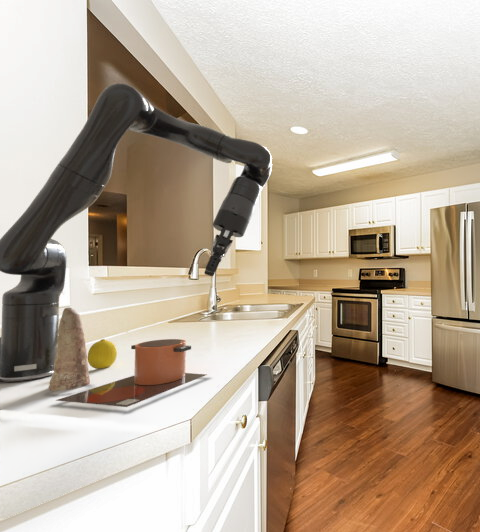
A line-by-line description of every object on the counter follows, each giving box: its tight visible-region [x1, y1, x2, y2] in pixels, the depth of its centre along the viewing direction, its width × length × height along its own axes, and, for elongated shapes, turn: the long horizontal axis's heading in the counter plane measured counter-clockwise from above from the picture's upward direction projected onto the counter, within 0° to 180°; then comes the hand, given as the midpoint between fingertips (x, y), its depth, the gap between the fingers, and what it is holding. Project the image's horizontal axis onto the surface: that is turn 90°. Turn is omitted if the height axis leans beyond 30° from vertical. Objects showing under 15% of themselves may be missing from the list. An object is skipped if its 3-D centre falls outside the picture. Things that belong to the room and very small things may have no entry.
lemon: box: [87, 338, 118, 370], centre depth 86 cm, size 6×6×8 cm
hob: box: [55, 372, 208, 408], centre depth 72 cm, size 16×20×1 cm
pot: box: [130, 338, 192, 385], centre depth 77 cm, size 13×9×8 cm
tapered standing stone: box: [48, 307, 91, 392], centre depth 71 cm, size 6×18×6 cm
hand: (209, 273), depth 84 cm, fingers open, 8 cm apart
